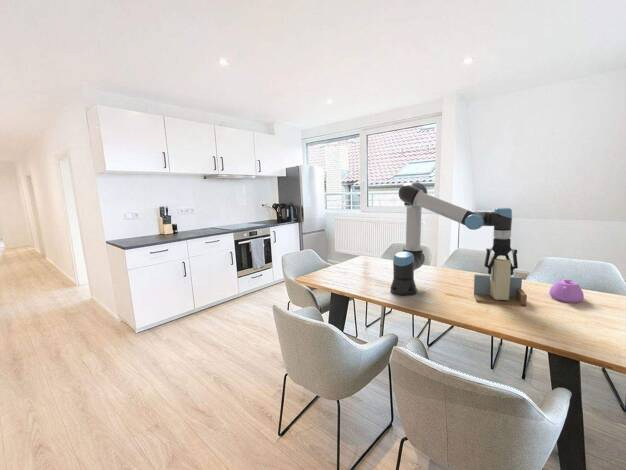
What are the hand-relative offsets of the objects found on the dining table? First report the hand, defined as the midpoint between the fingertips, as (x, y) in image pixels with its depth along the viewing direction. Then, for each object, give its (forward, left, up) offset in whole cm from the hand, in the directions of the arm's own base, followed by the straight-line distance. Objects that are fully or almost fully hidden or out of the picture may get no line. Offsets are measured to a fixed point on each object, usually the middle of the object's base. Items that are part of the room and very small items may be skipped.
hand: (499, 280), depth 154 cm
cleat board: (0, +1, -11) cm, 11 cm away
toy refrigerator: (0, 0, -9) cm, 9 cm away
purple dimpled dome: (+33, +13, -12) cm, 37 cm away
